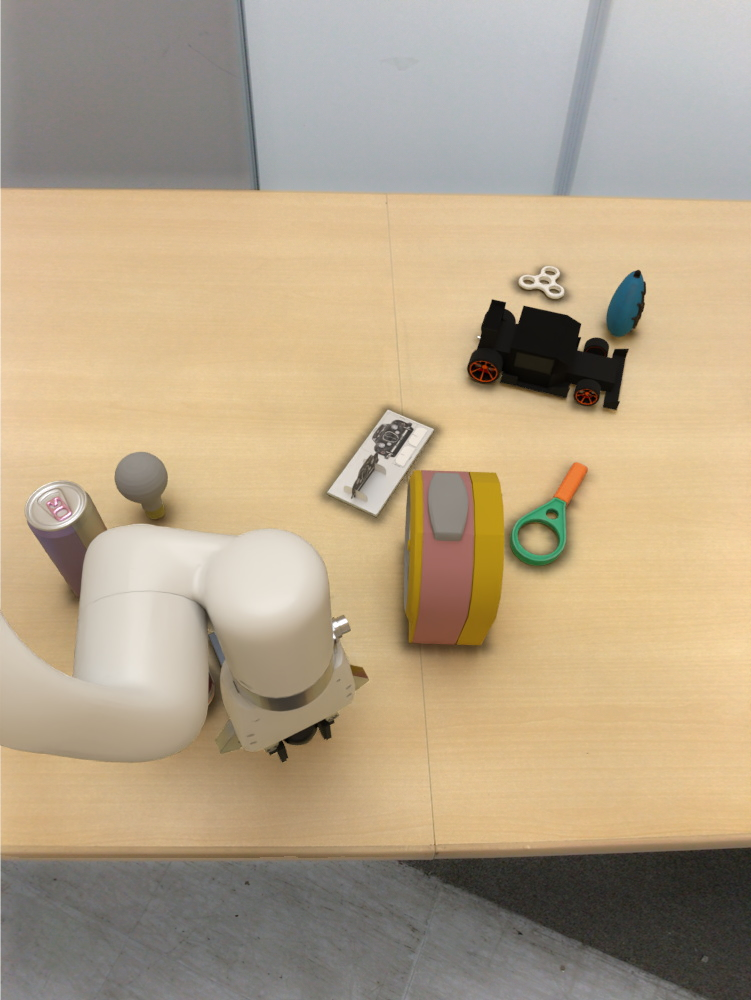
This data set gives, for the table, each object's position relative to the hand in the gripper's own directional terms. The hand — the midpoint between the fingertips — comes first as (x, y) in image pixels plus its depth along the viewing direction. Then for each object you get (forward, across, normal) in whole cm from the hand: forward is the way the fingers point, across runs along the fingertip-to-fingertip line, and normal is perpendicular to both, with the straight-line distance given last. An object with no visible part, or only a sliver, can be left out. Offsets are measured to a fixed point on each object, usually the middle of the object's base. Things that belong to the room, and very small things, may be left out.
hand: (299, 735), depth 68 cm
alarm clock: (+4, -20, -8) cm, 22 cm away
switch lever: (-4, 0, -5) cm, 6 cm away
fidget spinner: (+4, -60, -45) cm, 75 cm away
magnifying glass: (+4, -37, -11) cm, 39 cm away
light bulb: (+4, +4, -32) cm, 32 cm away
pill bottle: (+4, +8, -10) cm, 13 cm away
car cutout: (+4, -23, -27) cm, 36 cm away
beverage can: (+4, +12, -26) cm, 29 cm away
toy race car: (+4, -50, -31) cm, 59 cm away
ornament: (+4, -64, -33) cm, 72 cm away
